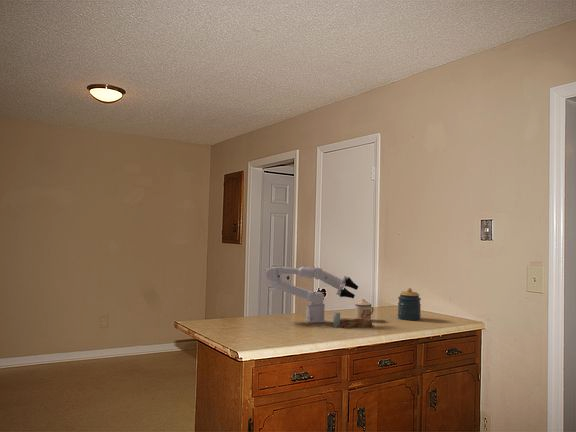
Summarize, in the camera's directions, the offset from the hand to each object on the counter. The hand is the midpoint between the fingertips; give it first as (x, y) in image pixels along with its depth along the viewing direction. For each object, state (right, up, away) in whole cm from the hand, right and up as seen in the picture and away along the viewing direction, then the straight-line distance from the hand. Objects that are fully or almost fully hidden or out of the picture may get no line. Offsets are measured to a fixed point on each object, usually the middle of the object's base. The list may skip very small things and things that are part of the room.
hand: (355, 292), depth 262 cm
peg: (-12, -16, -11) cm, 23 cm away
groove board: (-2, -16, -6) cm, 17 cm away
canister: (+34, -18, +20) cm, 43 cm away
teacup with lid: (+7, -17, +12) cm, 22 cm away
